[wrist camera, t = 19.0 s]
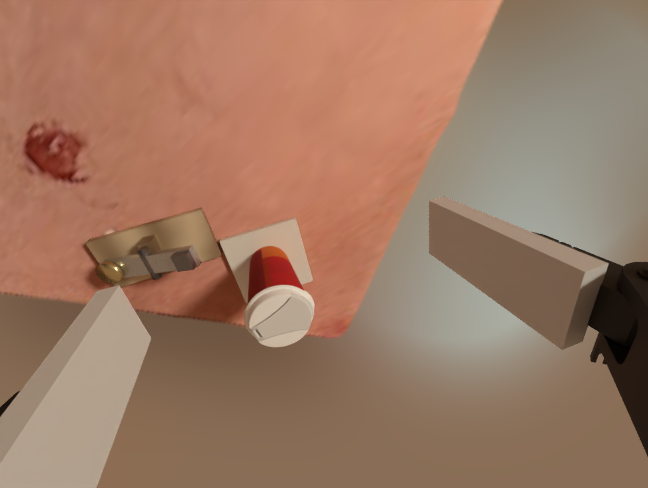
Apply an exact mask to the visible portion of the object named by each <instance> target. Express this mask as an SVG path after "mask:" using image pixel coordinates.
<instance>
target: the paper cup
mask: <svg viewBox="0 0 648 488" xmlns="http://www.w3.org/2000/svg"><path fill="white" fill-rule="evenodd" d="M313 315H314V301H313V299H312V297H311V296H310V294H309V293H308V292H306V291H304V289H303V287H302V285H301V283H300V281H299V279H298V277H297V275H296V273H295V271H294V269H293V267H292V265H291V263H290V261H289V259H288V257H287V255H286V254H285V253H284V251H282V250H281V249H280V248H278V247H274V246H266V247H262V248H260V249H258V250H257V251H256V252H255V253H254V254H253V256H252V258H251V261H250V268H249V286H248V305H247V307H246V309H245V313H244V323H245V326H246V328H247V330H248V331H249V333H250V334H251V335H252V336H254V337H255V338H256V339H257V340H258V342H259V343H261V344H263V345H266V346H270V347H282V346H287V345H290V344H292V343H294V342H296V341H298V340H299V339H301V338H302V337H303V336H304V335H305V334H306V333H307V331H308V330H309V327H310V324H311V321H312V318H313Z"/></svg>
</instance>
